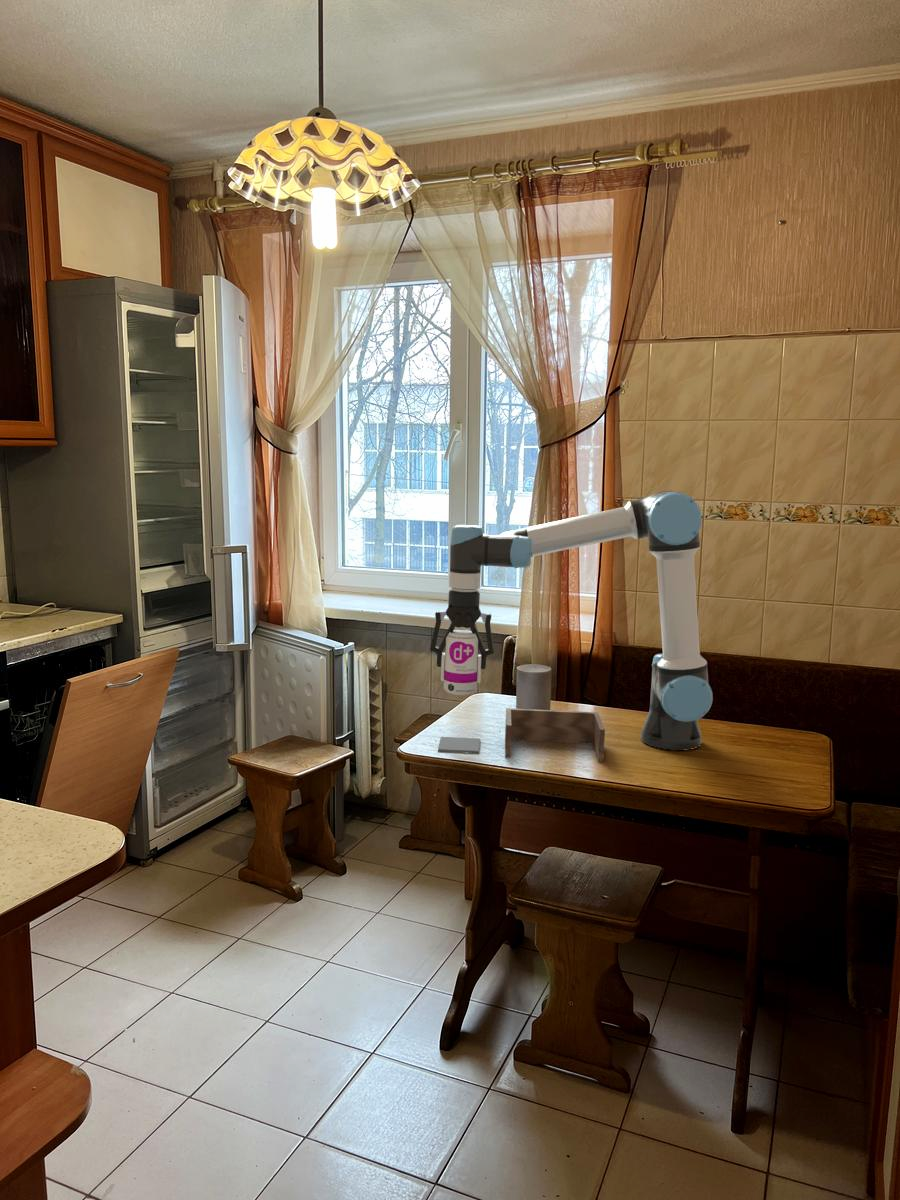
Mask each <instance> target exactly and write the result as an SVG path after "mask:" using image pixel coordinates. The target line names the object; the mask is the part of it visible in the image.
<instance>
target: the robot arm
mask: <svg viewBox="0 0 900 1200" xmlns="http://www.w3.org/2000/svg"><path fill="white" fill-rule="evenodd" d="M702 517H703V516H702V512H701V508H700V506H699V505H698V503H697V502H696V501H695V500H694V499H693V497H691V496H690V495H689V494H686V493H685V492H682V491H681V492H680V491H673V490H663V491H659V492H656V493H654V494H650V495H648V496H645V497H642V498H641V497H640V498H638V499H635V500H634V499H633V500H631V501H628V502H627V503H626V505H625V506H622V507H616V508H612V509H607V510H603V511H597V512H593V513H589V514H584V515H580V516H574V517H569V518H565V519H561V520H557V521H556V520H555V521H551V522H547V523H542V524H537V525H536V524H535V525H532V526H528V527H525V528H520V529H514V530H513V529H509V530H504V531H502V532H501V533H499V534H497V535H494V534H493V535H491V534H486V533H484V531H483V527H482V526H481V525H471V524H457V525H454V526H453V528H452V529H451V537H450V544H449V545H450V547H449V550H450V551H449V554H450V557H449V577H448V578H449V579H448V588H450V589H449V590H448V601H447V602H448V603H447V604H448V607H447V609H446V610H441V611H440V610H436V612H435V625H434V629H433V633H432V638H431V643H430V647H429V651H430V652H434V653H435V654H436V666H437V667H438V668H440V670H441V671H440V682H444V670H445V652H444V651H445V646H446V637H447V636H448V634H449V632H450V633H452V632H453V630H454V629H461V628H464V629H469V630H471V631H472V633H473V634H475V633H476V636H477V638H478V648H479V652H480V654H479V655H478V673H477V684H480V683H481V677H482V675H481V674H482V670H486V665H487V657H488V656H491V655H493V654H494V651H495V649H494V641H493V636H492V627H491V620H492V613H490V612H488V613H487V612H486V613H485V612H482V611H481V609H480V602H481V600H480V598H481V593H480V590H479V589H480V588H481V575H482V574H481V572H482V570H481V569H482V566H483V567H501V568H503V567H504V568H514V569H519V568H520V569H522V568H523V569H524V568H529V567H531V564H532V558H533V557H536V556H541V555H547V554H552V553H556V552H561V551H565V550H570V549H571V550H572V549H576V548H581V547H586V546H590V545H595V544H600V543H604V542H611V541H614V540H619V539H625V538H629V537H631V538H633V539H635V540H640V539H645V538H648V551H649V553H650V554H651V555H652V556H653V557H654V558H655V559H656V560H655V561H656V571H657V572H656V573H657V586H658V604H659V615H660V618H659V619H660V620H659V621H660V630H661V648H662V653H657V654H655V655H654V656H653V659H652V663H651V669H652V670H651V684H650V685H651V686H650V687H651V688H650V697H649V698H650V699H649V700H650V702H649V711H648V712H647V713H648V714H647V716H646V718H645V720H644V721H645V722H644V723H643V725H642V728H641V732H640V740H641V741H643V742H642V743H643V744H645V743H646V745H647V744H648V745H647V746H650V747H652V746H654V747H653V748H656V747H658V748H657V749H660V748H663V749H662V750H666V749H671V750H670V751H676V750H684V749H691V748H695V747H698V746H699V745H700V744H701V745H702V732H701V729H700V726H699V722H698V720H700V719H702V718H703V717H704V716H705V715H706V714H708V712H709V710H710V709H711V707H712V704H713V700H714V698H713V691H712V687H711V686H710V684H709V673H708V662H707V660H706V659H705V658H704V657H703V656H702V655H701V654H700V653H701V651H700V649H701V648H700V635H699V619H698V618H699V617H698V602H697V587H696V586H697V585H696V573H695V571H696V569H695V555H696V553H697V552H698V551H699V550H700V549H701V544H700V543H701V542H700V541H701V539H700V530H701V526H702V523H703V521H702V520H703V518H702ZM446 616H447V618H448V620H449V621H450V625H449V627H448V629H447V631H446V633H445V635H444V636H443V639H442V641H441V643H440V644H439V646H437V642H438V638H439V635H440V631H441V626H442V621H443V620H444V619H445V617H446ZM479 618H481V619H482V622H483V623H484V628H485V635H486V642H487V643H486V644H487V649H486V647H485V645H484V642H483V640H482V637H481V635H480V632H479V630H478V628H477V625H476V622H477V621H478V620H479Z"/></svg>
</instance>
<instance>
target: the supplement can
mask: <svg viewBox="0 0 900 1200" xmlns="http://www.w3.org/2000/svg"><path fill="white" fill-rule="evenodd" d="M479 652H480V650H479V648H478V638H477V636H476V633H475V634H473V633H472V631H471V629H469V628H454V630H453V632H452V633H450V632H449V634H448V636H447V637H446V646H445V648H444V653H445V670H444V681H443V689H444V690H445V692H446V693H448V694H451V695H455V696H468V695H472V694H474V693H475V692H476V691H478V683H477V673H478V655H480V654H479Z"/></svg>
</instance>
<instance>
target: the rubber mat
mask: <svg viewBox="0 0 900 1200" xmlns="http://www.w3.org/2000/svg"><path fill="white" fill-rule="evenodd" d="M480 746H481V738H479V737H478V738H477V737H459V736H458V737H457V736H456V737H455V736H441V737H440V738H439V744H438V749H437V751H438V752H441V753H459V752H468V753H467V754H480V749H479V748H480Z"/></svg>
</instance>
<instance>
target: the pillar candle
mask: <svg viewBox="0 0 900 1200" xmlns="http://www.w3.org/2000/svg"><path fill="white" fill-rule="evenodd" d="M515 695H516V697H515V709H536V710H551V701H552V699H551V698H552V668H551V667H550V666H549V665H543V664H538V663H537V664H536V663H533V664H532V663H531V664H530V663H529V664H527V663H526V664H521V665H519V666H517V667H516V694H515Z"/></svg>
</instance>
